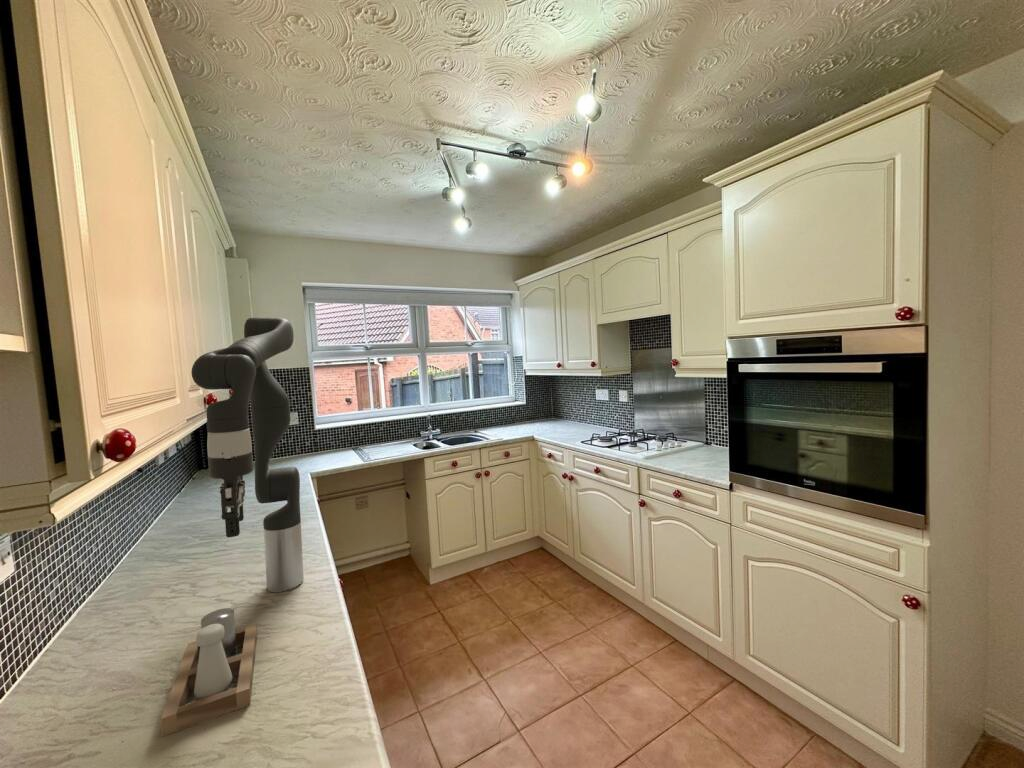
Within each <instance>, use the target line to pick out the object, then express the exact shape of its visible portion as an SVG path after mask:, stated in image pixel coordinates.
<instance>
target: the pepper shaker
mask: <svg viewBox="0 0 1024 768" xmlns="http://www.w3.org/2000/svg"><path fill="white" fill-rule="evenodd" d="M235 622H236V621H235V609H234V608H229V607H228V608H227V607H224V608H220V609H216V610H214V611H211V612H209V613H207V614H206V615H205V616H203V617H202V619H200V626H201V627H200V630H201V629H202V628H204V627H206V626H208V625H212V624H221V625H223V626H224V637H223V638H222V639H221V642H222V645H223V648H224V652H225V655H226V658H229V657H232V656H235V655H238V654H237V647H236V635H235V630H236V623H235Z"/></svg>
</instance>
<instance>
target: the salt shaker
mask: <svg viewBox="0 0 1024 768" xmlns="http://www.w3.org/2000/svg"><path fill="white" fill-rule="evenodd" d="M223 637H224V626H223V625H221V624H212V625H208V626H206V627H204V628H202V629H201V628H200V629H199V631H198V632H197V633H196V636H195V641H196V645H197V646H199V647H200V653H199V660H198V664H197V667H198V668H197V675H196V681H195V687H194V690H193V691H194V692H193V694H194V697H195V698H196V700H197V701H198V700H201V699H204V698H207V697H209V696H212V695H215V694H218V693H221V692H224V691H227V690H230V688H231V685H232V683H233V677H232V673H231V670H230V667H229V664H228V661H227V658H226V655H225V652H224V648H223V645H222V642H221V639H222V638H223Z"/></svg>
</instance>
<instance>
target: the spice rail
mask: <svg viewBox="0 0 1024 768" xmlns="http://www.w3.org/2000/svg"><path fill="white" fill-rule="evenodd" d="M257 628H258V627H257V624H252V625H249V626H246V627H242V628H239V629H235V635H236V648H238V647H241V646H242V651H241V653H238V654H237V655H235V656H232V657H229V658H227V661H228V664H229V667H230V670H231V673H232V678H234V677H236V676H238V678H237V685H236V687H233V688H231V689H230V688H229V690H227V691H224V692H221V693H218V694H215V695H212V696H209V697H207V698H204V699H201V700H198V699H197V700H195V701H192V702H190V703H187V700H188V697H189V694H190V691H194V687H195V681H196V675H197V668H198V661H199V653H200V647H199V646H197V645H196V640H195V641H191V642H189V643H187V644H186V645H187V646H186V648H185V652H184V654H183V657H182V660H181V662H180V665H179V667H178V670H177V673H176V676H175V678H174V681H173V684H172V687H171V689H170V693H169V696H168V698H167V701H166V704H165V706H164V710H163V712H162V715H161V718H160V724H161V736H162V737H164V736H167V735H169V734H173V733H176V732H178V731H182V730H184V729H186V728H189V727H193V726H194V725H197V724H200V723H203V722H206V721H209V720H212V719H215V718H217V717H219V716H223V715H226V714H229V713H230V712H231V713H232V712H234V711H237V710H239V709H242V708H245V707H249V706H251V701H252V694H253V693H252V691H253V690H252V689H253V681H254V671H255V663H256V662H255V661H256V651H257V643H258V631H257V630H258V629H257ZM186 703H187V704H186Z"/></svg>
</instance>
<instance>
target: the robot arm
mask: <svg viewBox="0 0 1024 768" xmlns="http://www.w3.org/2000/svg"><path fill="white" fill-rule="evenodd" d="M243 336H244V338H241V339H239V340H237V341H235V342H233V343H232V344H230V345H228V347H225V348H221V349H217V350H213V351H209V352H206V353H204V354H202V355H201V356H199V357H198V358H197V359H196V360H195V361H194V363H193V365H192V368H191V373H190V374H191V378H192V381H193V382H194V384H196V385H197V386H198V387H199V388H202V389H203V390H204V389H205V390H209V391H210V390H215V391H217V390H232V393H231V395H230V397H229V398H227V399H224V400H218V401H216V402H215V401H214V402H211V403H209V404H208V406H207V407H206V427H207V441H206V442H207V443H206V444H207V445H206V446H207V447H206V449H207V450H206V451H207V461H208V474H209V477H210V478H211V479H215V480H219V479H220V480H223V482H222V483H221V486H220V487H219V494H220V506H221V519H222V521H224V522H225V523H224V525H225V537H226V538H227V539H228V538H233V537H238V536H239V535H240V533H241V531H240V530H241V529H240V522H242V521H244V517H245V516H244V504H243V503H244V501H245V496H246V495H245V494H246V490H245V488H246V481H245V480H244V476H246V475H249V474H250V473H252V472H253V470H254V494H255V498H256V501H257V502H258V503H259V504H272V503H278V502H285V501H286V504H285V505H283V506H282V507H279V508H278V509H277V510H275V511H273V512H271V513H268V514H267V515H265V517H264V518H263V522H262V523H263V525H262V526H263V538H264V539H263V540H264V541H263V542H264V557H265V558H264V559H265V577H266V578H265V579H266V589H267V591H268V592H271V593H283V592H287V591H289V589H290V590H292V588H293V589H295V588H297V587H299V586H300V585H301V584H302V583H303V582H304V580H305V579H304V557H303V535H302V522H301V521H302V519H301V507H300V506H301V503H300V502H301V501H300V500H301V499H300V496H301V495H300V493H301V491H300V490H301V489H300V488H301V482H300V481H301V479H300V477H301V476H300V471H299V470H298V468H297V467H295V466H287V467H279V468H271V469H269V464H270V459H271V457H272V456H273V455H272V454H273V452H274V451H275V449H276V447H277V445H278V443H280V441H281V439H282V437H283V436H284V435H285V434H286V432H287V430H288V428H289V426H290V424H291V405H290V398H289V396H288V394H287V393H286V392H287V391H285V389H284V388H283V386H282V385H281V384H280V383H279V382H278V380H277V379H276V378H275V377H274V375H273V374H272V373H271V371H270V370H269V367H268V365H267V360H269V359H271V358H273V357H275V356H276V355H278V354H281V353H284V352H287V351H288V350H290V349H291V347H292V346H293V343H294V329H293V326H292V324H291V322H290V321H289V320H288V319H286V318H283V317H249V318H247V319H246V320H245V323H244V325H243ZM249 407H251V408H250V409H251V422H252V423H251V424H252V434H253V443H254V460H253V446H252V445H253V443H252V436H251V431H250V423H249V422H250V421H249ZM228 509H230V511H228ZM303 579H304V580H303ZM302 581H303V582H302ZM301 582H302V583H301ZM300 583H301V584H300ZM299 584H300V585H299ZM298 585H299V586H298ZM296 586H297V587H296ZM294 587H295V588H294ZM286 590H287V591H286ZM282 591H283V592H282Z"/></svg>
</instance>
